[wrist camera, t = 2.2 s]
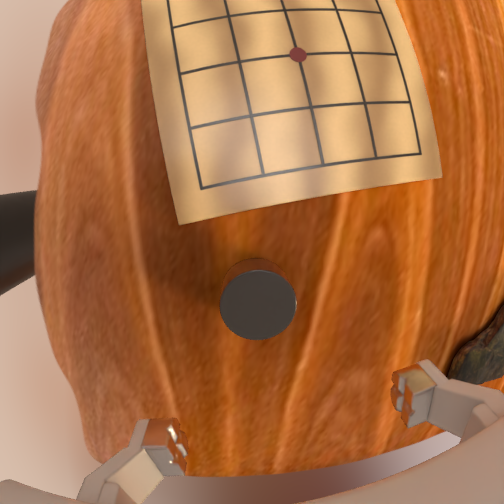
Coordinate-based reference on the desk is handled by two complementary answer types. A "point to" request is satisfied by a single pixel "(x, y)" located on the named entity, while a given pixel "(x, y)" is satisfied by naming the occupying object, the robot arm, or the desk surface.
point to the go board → (284, 101)
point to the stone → (481, 355)
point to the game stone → (257, 299)
